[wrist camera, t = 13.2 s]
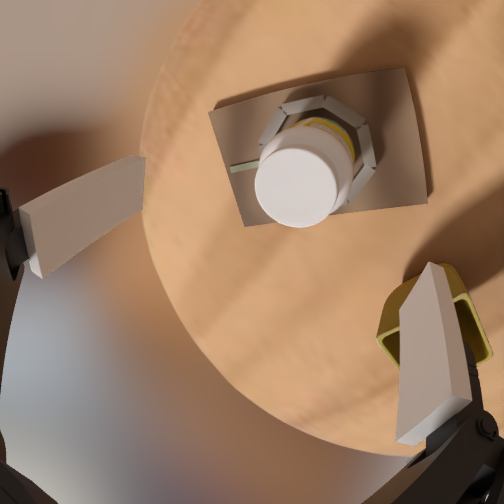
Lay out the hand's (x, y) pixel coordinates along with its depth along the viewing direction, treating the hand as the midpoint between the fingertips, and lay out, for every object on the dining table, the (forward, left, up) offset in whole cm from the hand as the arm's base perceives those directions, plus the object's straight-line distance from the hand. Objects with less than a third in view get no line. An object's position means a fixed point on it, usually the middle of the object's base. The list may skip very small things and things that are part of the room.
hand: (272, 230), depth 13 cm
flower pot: (-9, +16, -17) cm, 25 cm away
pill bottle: (0, 0, -16) cm, 16 cm away
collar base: (0, 0, -17) cm, 17 cm away
